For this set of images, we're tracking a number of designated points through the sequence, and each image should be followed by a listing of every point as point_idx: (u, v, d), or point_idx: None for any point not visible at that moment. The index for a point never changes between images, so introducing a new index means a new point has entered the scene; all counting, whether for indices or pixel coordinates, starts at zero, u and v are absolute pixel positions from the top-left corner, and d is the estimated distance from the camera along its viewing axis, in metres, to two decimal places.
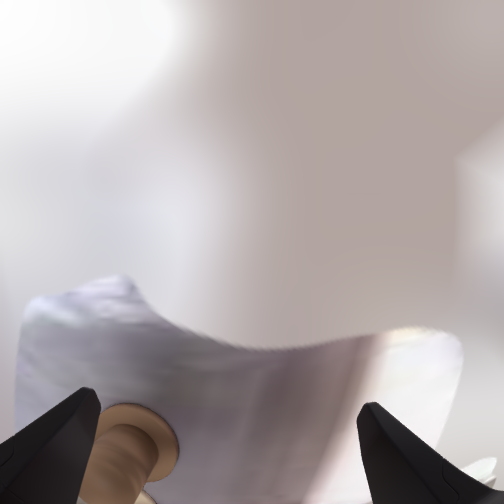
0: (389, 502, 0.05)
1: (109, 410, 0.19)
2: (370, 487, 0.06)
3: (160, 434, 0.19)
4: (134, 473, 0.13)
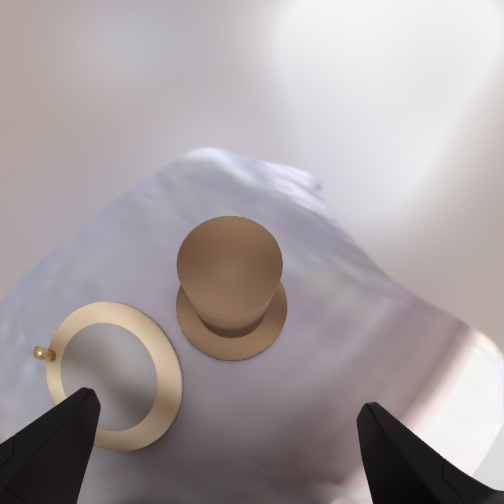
0: (389, 502, 0.05)
1: None
2: (370, 487, 0.06)
3: (279, 302, 0.20)
4: None
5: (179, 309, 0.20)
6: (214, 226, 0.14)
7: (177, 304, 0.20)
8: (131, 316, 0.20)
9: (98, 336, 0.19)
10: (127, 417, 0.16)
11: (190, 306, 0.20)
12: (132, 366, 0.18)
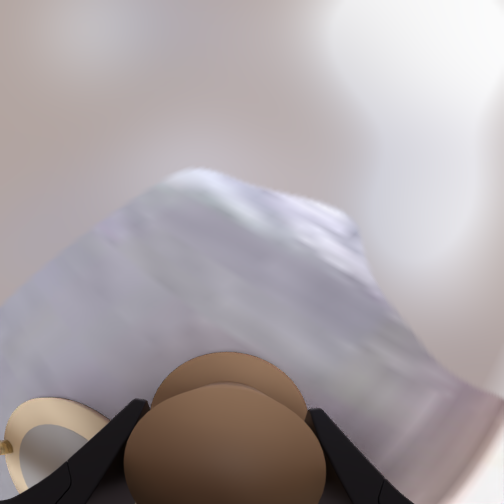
0: None
1: (235, 354, 0.13)
2: None
3: None
4: None
5: None
6: (186, 413, 0.06)
7: None
8: (92, 425, 0.11)
9: (55, 441, 0.10)
10: None
11: None
12: None
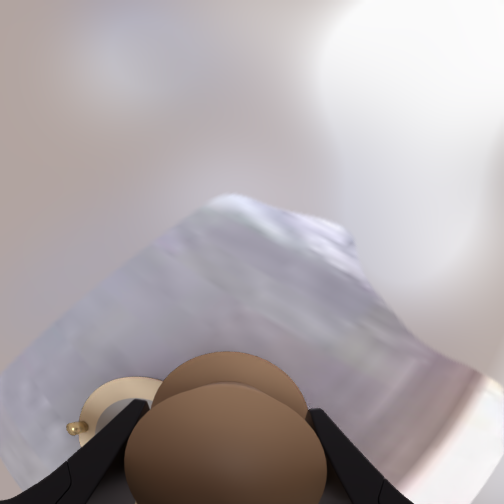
0: None
1: (235, 353, 0.13)
2: None
3: None
4: None
5: None
6: (187, 412, 0.06)
7: None
8: None
9: None
10: None
11: None
12: None
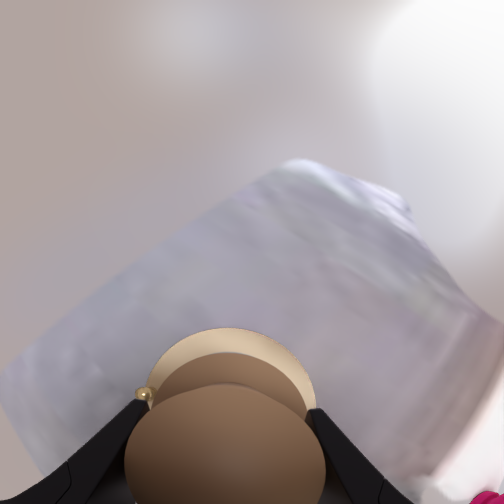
0: None
1: (235, 355, 0.13)
2: None
3: None
4: None
5: None
6: (187, 413, 0.06)
7: None
8: (259, 343, 0.19)
9: None
10: None
11: None
12: None
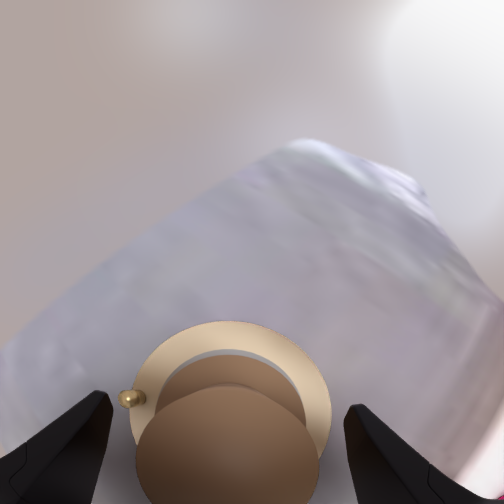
0: None
1: (236, 356, 0.14)
2: (356, 490, 0.06)
3: None
4: None
5: None
6: (193, 413, 0.06)
7: None
8: (265, 339, 0.16)
9: None
10: None
11: None
12: None
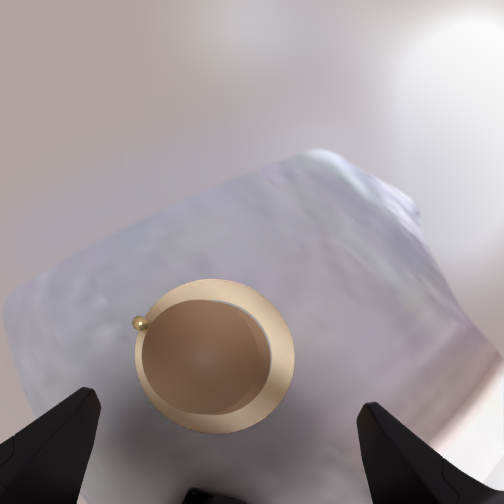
0: (389, 502, 0.05)
1: (228, 305, 0.19)
2: (370, 487, 0.06)
3: (262, 365, 0.18)
4: None
5: None
6: (189, 311, 0.12)
7: None
8: (253, 299, 0.21)
9: None
10: None
11: None
12: None
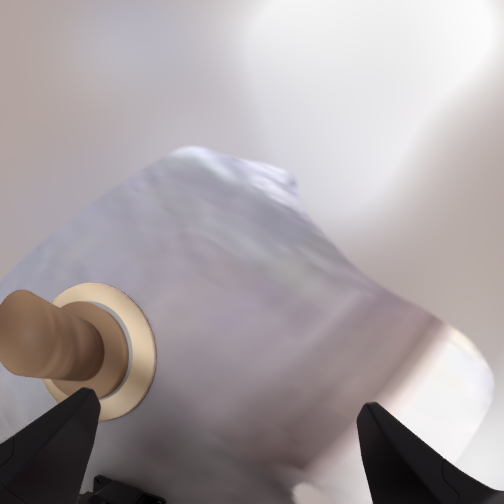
0: (389, 502, 0.05)
1: (86, 303, 0.19)
2: (370, 487, 0.06)
3: (115, 353, 0.18)
4: (64, 348, 0.13)
5: None
6: (13, 299, 0.12)
7: None
8: (113, 296, 0.22)
9: None
10: None
11: None
12: None
